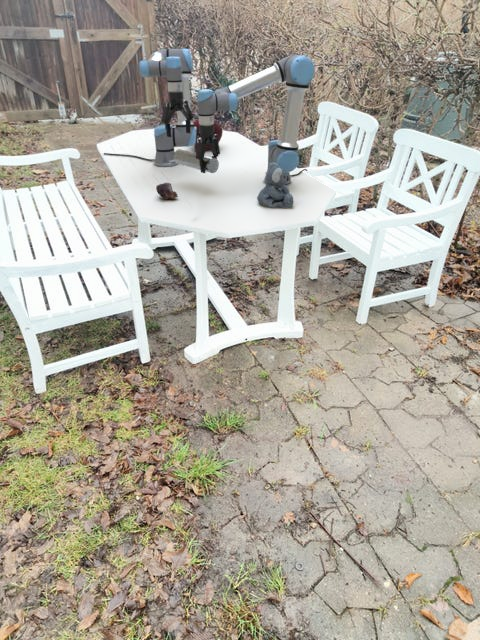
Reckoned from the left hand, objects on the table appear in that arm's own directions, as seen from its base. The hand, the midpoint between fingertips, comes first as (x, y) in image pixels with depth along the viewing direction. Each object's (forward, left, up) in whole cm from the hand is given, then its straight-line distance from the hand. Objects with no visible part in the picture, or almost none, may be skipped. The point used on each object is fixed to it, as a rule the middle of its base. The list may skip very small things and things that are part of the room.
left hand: (179, 134), depth 244 cm
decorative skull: (-50, +67, -27) cm, 87 cm away
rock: (+11, -21, -27) cm, 36 cm away
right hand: (+25, -2, -14) cm, 28 cm away
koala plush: (+59, +11, -27) cm, 66 cm away
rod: (+15, -2, -15) cm, 21 cm away
